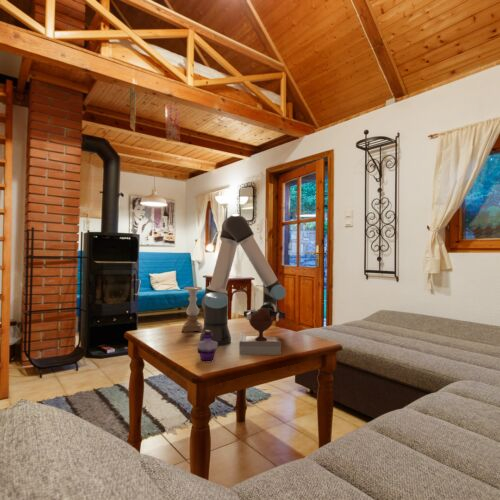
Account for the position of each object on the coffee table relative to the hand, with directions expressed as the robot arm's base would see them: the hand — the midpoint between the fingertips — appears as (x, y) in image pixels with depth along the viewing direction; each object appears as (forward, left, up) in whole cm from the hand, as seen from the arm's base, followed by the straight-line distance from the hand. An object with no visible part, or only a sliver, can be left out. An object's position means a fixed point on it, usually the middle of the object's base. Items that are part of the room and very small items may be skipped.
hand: (262, 317), depth 159 cm
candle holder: (-37, +37, -14) cm, 54 cm away
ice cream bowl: (0, +1, -11) cm, 11 cm away
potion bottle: (-23, -17, -14) cm, 32 cm away
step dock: (-1, 0, -14) cm, 14 cm away
